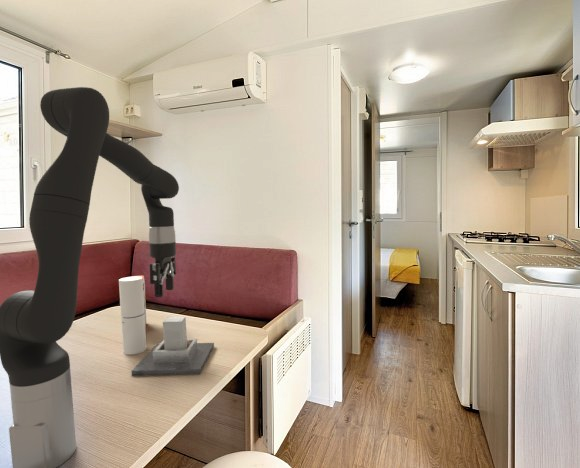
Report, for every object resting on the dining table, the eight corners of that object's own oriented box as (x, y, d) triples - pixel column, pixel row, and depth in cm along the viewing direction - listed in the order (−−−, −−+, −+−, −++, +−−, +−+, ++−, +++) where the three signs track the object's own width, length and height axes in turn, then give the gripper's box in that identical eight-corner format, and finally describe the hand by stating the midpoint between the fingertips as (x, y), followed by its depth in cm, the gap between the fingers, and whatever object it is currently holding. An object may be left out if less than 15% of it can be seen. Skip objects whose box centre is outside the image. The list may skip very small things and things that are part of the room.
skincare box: (187, 352, 104) (186, 316, 103) (183, 358, 99) (182, 321, 98) (169, 352, 104) (167, 317, 103) (164, 359, 99) (162, 321, 98)
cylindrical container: (137, 355, 105) (132, 281, 103) (118, 353, 107) (113, 280, 104) (150, 346, 112) (146, 276, 110) (132, 344, 114) (128, 276, 111)
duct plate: (200, 374, 93) (199, 357, 92) (131, 375, 93) (130, 359, 92) (214, 346, 111) (213, 333, 110) (156, 348, 111) (155, 334, 110)
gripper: (165, 243, 90) (168, 299, 91) (182, 238, 104) (184, 287, 105) (139, 243, 90) (142, 299, 91) (159, 239, 104) (161, 287, 105)
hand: (164, 293), depth 98 cm, fingers open, 8 cm apart
